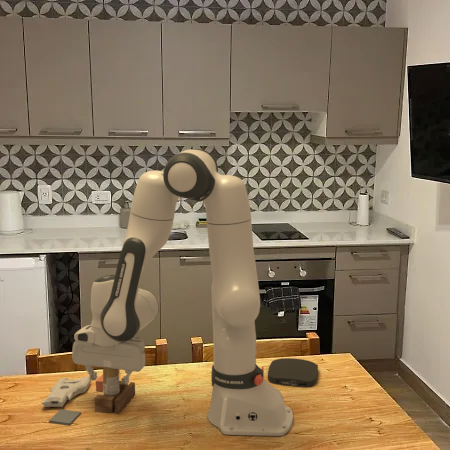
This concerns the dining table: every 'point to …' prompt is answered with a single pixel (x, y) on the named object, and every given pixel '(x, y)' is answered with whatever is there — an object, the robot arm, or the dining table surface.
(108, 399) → the brown u-shaped channel
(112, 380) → the sprinkles bottle
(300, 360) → the media streaming box
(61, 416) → the pad
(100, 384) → the salmon red bar
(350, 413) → the dining table surface
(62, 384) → the gun
